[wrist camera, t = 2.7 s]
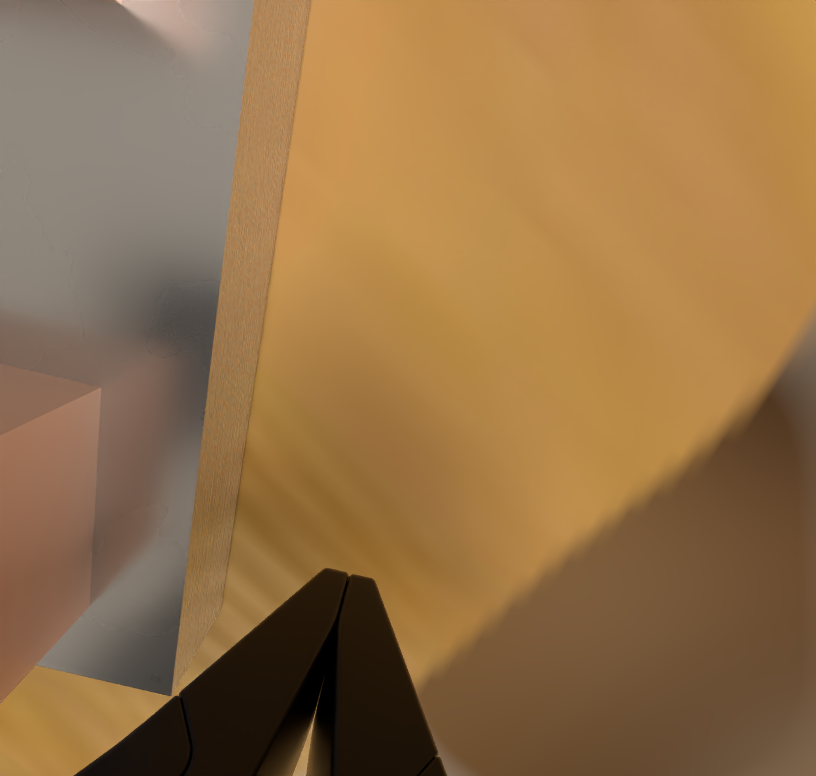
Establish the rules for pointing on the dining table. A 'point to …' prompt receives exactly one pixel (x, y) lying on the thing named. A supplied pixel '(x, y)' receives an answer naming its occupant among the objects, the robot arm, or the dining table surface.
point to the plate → (146, 282)
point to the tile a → (44, 513)
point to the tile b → (115, 1)
